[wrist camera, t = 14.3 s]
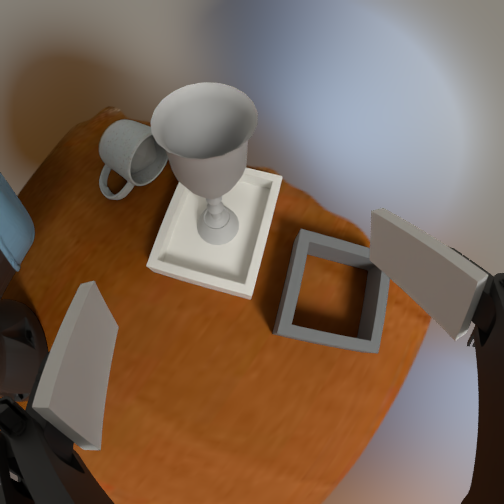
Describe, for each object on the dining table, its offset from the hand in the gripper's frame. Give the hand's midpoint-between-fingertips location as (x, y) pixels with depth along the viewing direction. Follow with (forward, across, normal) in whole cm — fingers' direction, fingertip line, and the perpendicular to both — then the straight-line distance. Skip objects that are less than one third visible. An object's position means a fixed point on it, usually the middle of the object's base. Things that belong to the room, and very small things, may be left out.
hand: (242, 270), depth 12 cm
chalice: (+21, 0, -6) cm, 22 cm away
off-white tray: (+21, 0, -6) cm, 22 cm away
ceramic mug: (+30, -10, +2) cm, 31 cm away
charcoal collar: (+13, +10, -15) cm, 22 cm away
